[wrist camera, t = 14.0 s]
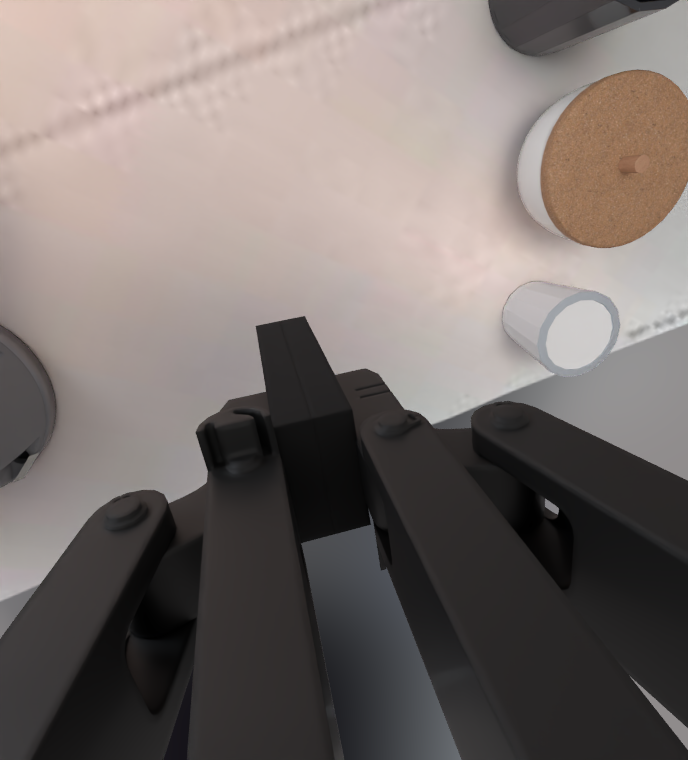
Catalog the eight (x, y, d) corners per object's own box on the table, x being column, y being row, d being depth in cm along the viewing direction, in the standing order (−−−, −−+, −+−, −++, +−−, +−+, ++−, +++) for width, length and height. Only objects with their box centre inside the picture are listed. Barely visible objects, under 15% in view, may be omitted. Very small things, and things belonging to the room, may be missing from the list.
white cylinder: (567, 266, 43) (623, 282, 36) (567, 339, 46) (619, 366, 39) (493, 283, 42) (537, 302, 36) (497, 356, 45) (538, 386, 39)
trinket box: (641, 161, 40) (747, 158, 32) (546, 262, 42) (621, 284, 34) (569, 54, 36) (667, 17, 28) (466, 171, 38) (529, 170, 30)
